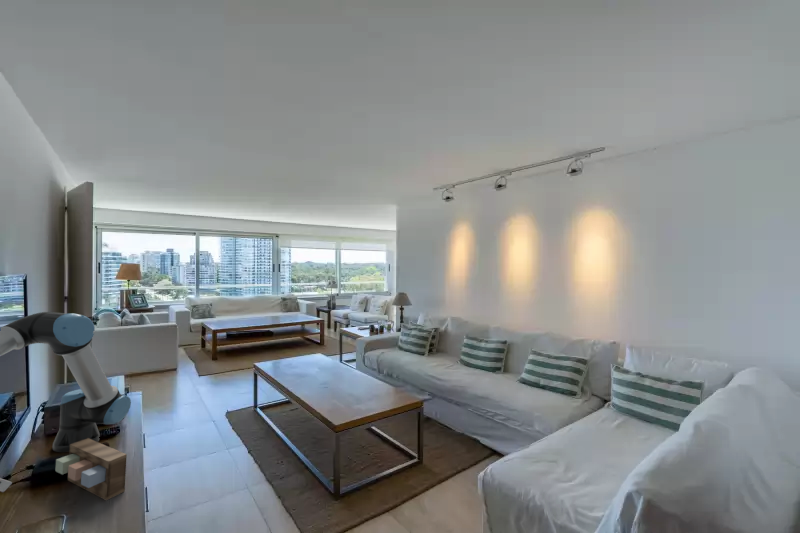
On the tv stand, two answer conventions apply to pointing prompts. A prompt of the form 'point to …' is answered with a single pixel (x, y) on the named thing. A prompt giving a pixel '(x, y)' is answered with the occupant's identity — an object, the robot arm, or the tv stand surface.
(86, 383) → the robot arm
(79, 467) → the terracotta key
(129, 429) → the tv stand surface
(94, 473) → the slate key
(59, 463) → the sage key
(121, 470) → the wooden block
